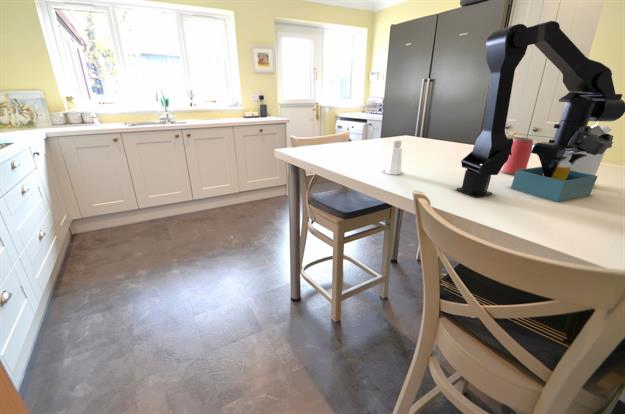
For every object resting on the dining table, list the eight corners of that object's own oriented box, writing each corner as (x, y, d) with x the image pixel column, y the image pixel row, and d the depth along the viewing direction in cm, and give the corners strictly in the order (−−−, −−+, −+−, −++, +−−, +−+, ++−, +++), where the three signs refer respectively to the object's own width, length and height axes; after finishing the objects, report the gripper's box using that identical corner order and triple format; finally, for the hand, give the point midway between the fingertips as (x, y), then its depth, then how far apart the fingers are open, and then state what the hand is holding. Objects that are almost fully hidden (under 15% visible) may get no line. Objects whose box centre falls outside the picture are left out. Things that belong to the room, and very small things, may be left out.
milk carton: (559, 183, 89) (582, 120, 82) (561, 178, 94) (583, 119, 86) (590, 188, 84) (617, 122, 77) (590, 183, 89) (615, 120, 82)
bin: (557, 202, 73) (564, 181, 71) (510, 188, 83) (516, 169, 81) (589, 195, 79) (597, 176, 77) (542, 182, 89) (548, 165, 87)
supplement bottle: (567, 191, 77) (580, 155, 74) (545, 189, 78) (557, 154, 75) (555, 185, 82) (567, 152, 79) (535, 183, 83) (546, 150, 80)
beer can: (524, 177, 95) (536, 140, 90) (501, 173, 98) (511, 138, 94) (523, 172, 100) (534, 138, 96) (501, 170, 103) (511, 136, 99)
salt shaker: (398, 170, 100) (402, 139, 95) (403, 174, 95) (408, 141, 90) (383, 170, 99) (386, 138, 95) (387, 174, 94) (391, 141, 90)
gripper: (592, 125, 63) (567, 191, 69) (633, 123, 70) (607, 183, 76) (539, 120, 73) (520, 178, 79) (579, 119, 80) (560, 173, 86)
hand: (553, 178), depth 80 cm, fingers closed on supplement bottle, 5 cm apart
